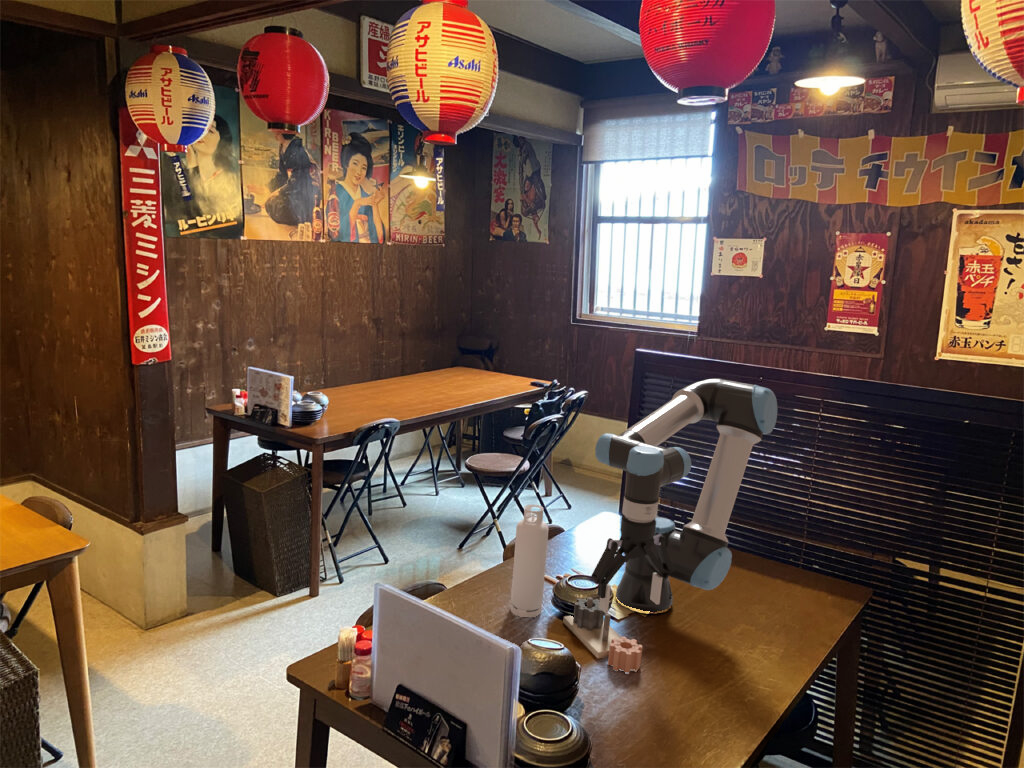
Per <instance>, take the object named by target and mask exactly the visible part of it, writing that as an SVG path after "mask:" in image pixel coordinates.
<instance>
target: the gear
mask: <svg viewBox="0 0 1024 768" xmlns="http://www.w3.org/2000/svg"><path fill="white" fill-rule="evenodd" d="M642 654H643V645H642V644H638V640H637V639H635V638H631V639H629V638H627V637H626V636H621V639H616V638H613V639H612V641H611V643H610V647H609V656H608V657H607V659H608V660H607V664H608V665H607V666H609V665H613V666H612V670H613V669H614V670H616V671H617V670H619V669H621V670H624V672H630V669H635V670H637V669H639V670H640V667H639V665H640V664H642ZM640 666H641V665H640ZM624 672H623V673H624ZM630 673H631V672H630Z"/></svg>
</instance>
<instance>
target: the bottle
mask: <svg viewBox="0 0 1024 768" xmlns="http://www.w3.org/2000/svg"><path fill="white" fill-rule="evenodd" d="M532 508H539V509H540V510H538V511H537V510H536V511H535V510H532ZM523 512H524V513H523V518H522V519H521V520H520V521H518V523H517V524H516V526H515V527H516V529H515V541H514V542H515V544H514V558H513V566H512V567H513V570H512V581H511V584H512V585H511V596H510V608H509V609H511V610H510V612H511V613H512V614H513V615H514V614H515V615H514V616H516V615H518V616H521V617H520V618H522V617H534V618H537V617H539V616H540V615H541V614H542V612H541V611H543V605H542V604H543V598H544V587H545V586H544V585H545V572H546V564H547V553H548V552H547V550H548V542H549V541H548V539H549V529H550V528H549V525H548V524H547V522H545V521H544V507H543V506H541V505H539V504H532V503H531V504H527V505H525V506H524V511H523ZM539 614H540V615H539ZM538 615H539V616H538ZM518 616H517V617H518ZM536 616H537V617H536Z"/></svg>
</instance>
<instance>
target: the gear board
mask: <svg viewBox="0 0 1024 768" xmlns="http://www.w3.org/2000/svg"><path fill="white" fill-rule="evenodd" d="M587 597H588V598H587V600H586V598H581V599H580V597H579V598H577V599H576V602H574V608H573V615H574V617H573V616H571V615H565V616H563V620H562V621H563V624H564V625H565V626H566V627H567V628H568V629H569V630H570V631H571V632H572V633H573V635H575V636H576V638H577V639H578V640H579V641H580V642H581V643H582V644H583V645H584V646H585V647H586V648H587V650H589V652H591V654H593V655H594V657H596V658H597V659H603V658H608V657H609V647H610V643H611V641H612V639H613V638H616V639H621V637H622V636H621V635H620V634H619V633H618V632H617V631H616V630H615V629H614V628H613V627H612V626H611V625H610V624H611V616H612V615H611V614H610V613H609V612H608V613H604V612H603V611H602V610H601V609H600V608H599V601H600V599H598V598H595V599H594V598H593V597H590V596H587ZM577 602H578V603H577ZM585 605H587V606H585ZM592 606H593V607H592Z"/></svg>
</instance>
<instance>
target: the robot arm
mask: <svg viewBox="0 0 1024 768" xmlns="http://www.w3.org/2000/svg"><path fill="white" fill-rule="evenodd" d="M777 418H778V400H777V397H776V395H775V393H774V391H773V390H772V389H770V388H768V387H764V386H760V385H758V384H752V383H745V382H738V381H734V380H728V379H724V378H721V377H720V378H719V377H718V378H716V377H715V378H708V379H703V380H700V381H695V382H694V383H690V384H688V385H687V386H684V387H683V388H680V389H679V390H678V391H676V392H674V394H673V396H672V398H671V400H669V401H668V402H666V403H665V404H663V405H662V406H660V407H659V408H657V409H656V410H655V411H653V412H651V413H649V415H647V416H645V417H644V418H643V419H641V420H639V421H638V422H636V423H635V424H633V425H631V426H630V427H629V428H627V429H625V430H624V431H623V432H621V433H619V434H618V435H617V434H615V433H607V432H606V433H603V434H602V435H600V437H598V440H597V441H596V444H595V449H594V451H595V454H594V455H595V458H596V460H597V461H598V462H599V463H601V464H604V465H606V466H609V467H610V468H616V469H618V470H622V471H624V472H626V473H625V487H624V493H623V494H624V495H623V503H622V511H621V513H622V515H621V521H620V538H619V539H617V540H616V539H613V538H608V539H607V541H606V546H605V549H604V551H603V553H602V554H601V557H600V558H599V561H598V562H597V565H595V568H594V569H593V571H592V574H591V575H590V578H591V580H592V581H593V582H595V583H596V584H597V585H598V586H597V596H598V597H599V600H600V601H599V608H600V609H601V610H602V611H603V612H604V614H606V613H608V614H609V608H610V607H609V606H610V598H611V587H612V585H611V584H610V582H611V581H612V580H613V578H614V577H615V576H616V575H617V572H618V571H620V569H622V567H623V565H624V564H625V569H624V573H623V575H622V577H621V579H620V582H619V583H618V584H617V587H616V591H615V598H616V597H617V599H618V600H619V601H620V602H621V603H623V604H624V605H626V606H629V607H632V608H636V609H640V610H643V611H650V612H657V611H662V610H665V609H668V608H669V607H670V606H671V605H672V606H673V601H674V599H673V597H674V596H673V591H672V587H671V583H670V578H673V579H676V580H678V581H681V582H683V583H685V584H688V585H690V586H691V587H694V588H699V589H702V590H706V591H711V590H715V589H716V588H717V587H718V586H720V585H721V583H722V582H723V581H724V579H725V578H726V576H727V575H728V573H729V570H730V568H731V565H732V558H733V554H732V551H731V550H730V549H729V548H728V545H729V542H730V541H729V540H728V537H727V535H726V530H727V527H728V524H729V521H730V519H731V514H732V511H733V509H734V505H735V503H736V499H737V496H738V492H739V489H740V487H741V483H742V481H743V478H744V474H745V471H746V468H747V464H748V461H749V459H750V456H751V451H752V450H753V446H754V445H756V444H758V443H760V442H761V441H762V438H763V435H768V434H771V433H772V432H773V430H774V429H775V427H776V422H777ZM702 420H703V421H704V420H705V421H712V422H715V423H717V424H716V430H717V431H718V432H719V437H718V440H717V443H716V446H715V450H714V452H713V456H712V459H711V462H710V463H709V464H710V465H709V468H708V471H707V475H706V477H705V481H704V482H703V487H702V489H701V492H700V496H699V499H698V501H697V504H696V507H695V509H694V513H693V516H692V519H691V521H690V522H688V523H687V524H686V523H685V524H684V525H683V526H682V531H678V530H676V525H675V524H676V523H675V522H674V521H673V520H671V519H668V518H667V517H661V516H660V517H659V516H658V511H659V510H658V509H659V501H660V500H659V499H660V494H661V493H660V491H661V487H664V486H666V485H669V484H673V483H676V482H679V481H681V479H683V478H685V477H687V476H688V474H689V473H690V471H691V468H692V460H691V456H690V455H689V453H688V452H687V451H686V449H683V448H682V447H678V446H674V447H673V446H670V447H667V448H665V447H660V446H659V445H661V444H662V443H664V442H665V441H666V440H668V439H669V438H670V437H672V436H673V435H675V434H676V433H677V432H679V431H680V430H682V429H683V428H685V427H686V426H687V425H689V424H696V423H697V422H700V421H702Z"/></svg>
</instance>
